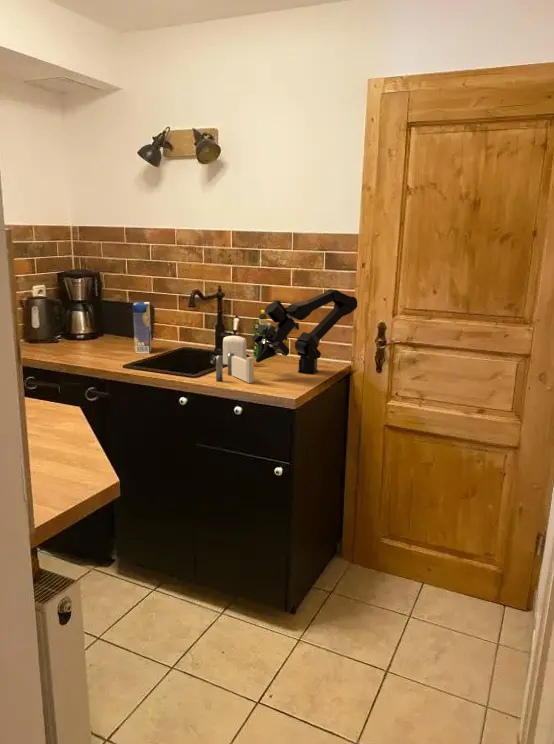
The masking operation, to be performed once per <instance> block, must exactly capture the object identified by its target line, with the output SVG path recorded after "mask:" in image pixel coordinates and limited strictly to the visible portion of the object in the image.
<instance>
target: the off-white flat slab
mask: <svg viewBox="0 0 554 744" xmlns="http://www.w3.org/2000/svg"><path fill="white" fill-rule="evenodd" d="M254 360H255V359H254V357H252V356H246V360H245V359H242V358H240V357H237V356H232V375H231V377H235V378H237V379H240V380H242V381H244V382H246V383H248V384H252V383H254V373H255V371H254V370H255V369H254V368H255V364H254V363H255V361H254Z"/></svg>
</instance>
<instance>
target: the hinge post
mask: <svg viewBox="0 0 554 744" xmlns="http://www.w3.org/2000/svg"><path fill="white" fill-rule="evenodd" d="M232 356H234V353H228V365H227V376H232Z"/></svg>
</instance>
